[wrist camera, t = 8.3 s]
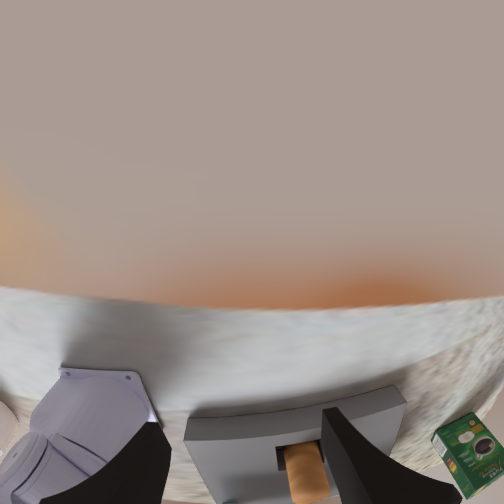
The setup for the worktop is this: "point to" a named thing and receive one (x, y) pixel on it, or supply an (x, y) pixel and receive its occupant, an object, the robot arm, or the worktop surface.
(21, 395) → the worktop surface
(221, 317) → the worktop surface
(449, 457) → the coffee box
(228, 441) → the socket stand
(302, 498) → the peg
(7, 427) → the white cube
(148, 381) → the worktop surface
